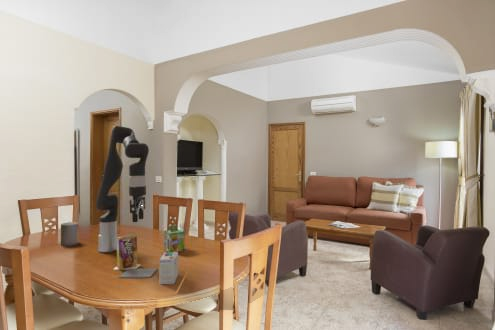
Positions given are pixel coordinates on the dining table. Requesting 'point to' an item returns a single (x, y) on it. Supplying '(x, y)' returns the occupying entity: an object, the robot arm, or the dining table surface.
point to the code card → (128, 268)
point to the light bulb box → (168, 268)
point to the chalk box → (174, 240)
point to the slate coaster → (138, 273)
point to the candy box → (126, 251)
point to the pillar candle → (69, 233)
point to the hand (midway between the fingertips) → (138, 220)
